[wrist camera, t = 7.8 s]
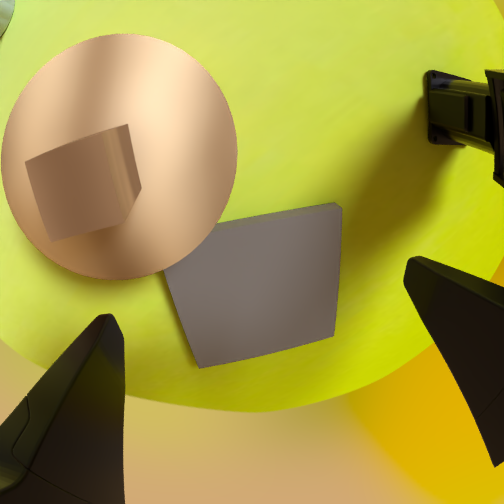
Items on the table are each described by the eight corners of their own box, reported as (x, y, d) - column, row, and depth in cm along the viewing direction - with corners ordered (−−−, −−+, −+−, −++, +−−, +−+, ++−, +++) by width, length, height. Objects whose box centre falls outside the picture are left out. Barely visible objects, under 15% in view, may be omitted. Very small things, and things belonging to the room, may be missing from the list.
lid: (217, 17, 10) (234, -27, 5) (247, 244, 16) (272, 303, 12) (-4, 91, 8) (-66, 99, 4) (54, 284, 14) (24, 344, 10)
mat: (334, 202, 21) (342, 208, 20) (329, 327, 27) (333, 336, 26) (156, 236, 19) (155, 243, 18) (198, 358, 26) (199, 368, 25)
